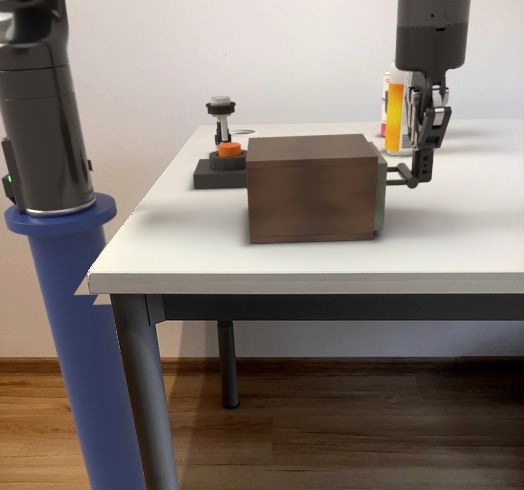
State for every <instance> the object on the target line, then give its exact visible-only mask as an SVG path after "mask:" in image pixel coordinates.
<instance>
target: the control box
mask: <svg viewBox="0 0 524 490" xmlns="http://www.w3.org/2000/svg"><path fill="white" fill-rule="evenodd" d="M246 156H247V149H242V148H241V155H240V156H234V157H221V156H219V154H218V151H215V150H214V151H212V152H210V153H209V154H208V158H199V159H198V161H197V164H196V166H195V168H194V172H193V173H192V176H193V177H192V178H193V189H194V190H201V189H202V190H203V189H205V190H206V189H229V188H230V189H231V188H232V189H233V188H247V176H246Z"/></svg>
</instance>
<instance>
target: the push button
mask: <svg viewBox="0 0 524 490" xmlns="http://www.w3.org/2000/svg"><path fill="white" fill-rule="evenodd" d="M209 99H210V101H209V102H207V103H205V107H206V110H207V114H208V115H211V117H212V118H216V129H215V130H216V134H214V144H215V147H214V149H215V150H214V152H215V151H218V145H219V144H222V143H228V142H233V141H232V134H231V133H230V129H229V128H228V127H229V126H228V120H227V118H228V117H230V116H232V114H233V113H236V109H235V108H236V107H235V106H237V103H236V102H235V101H232V100H231V96H228V95H219V96H212V97H210V98H209Z"/></svg>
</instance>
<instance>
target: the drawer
mask: <svg viewBox="0 0 524 490" xmlns="http://www.w3.org/2000/svg"><path fill="white" fill-rule="evenodd" d="M368 142H369V144H370V145H371V147H372V148H373V150H374V151H375V153H376V154H377V155H378V171H377V187H376V203H375V219H374V231H383V230H384V224H385V223H384V222H385V209H386V208H385V206H386V196H387V195H386V194H387V187H394V186H395V187H397V186H407V188H408V189H411V190H414V189H416V188H417V187H418V186H419V184H420V183H419V181H418V179H417V177H416V176H415V175H414V174H413V173H412V171H411V169H410V167H409V166H408V165H407V164H406V163H405V162H399V163H397V165H396V166H395V165H394V166H388V165H389V164H388V161H387V160H386V159H385V157H384V156H383V155H382V153H381V152H380V150H379V149H378V148H377V146H376V145H375V144H374V142H373V141H368ZM388 173H397V175H398V176H399V177H400V178H399V179H395V178H394V179H388Z"/></svg>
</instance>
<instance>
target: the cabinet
mask: <svg viewBox="0 0 524 490" xmlns="http://www.w3.org/2000/svg"><path fill="white" fill-rule="evenodd" d="M369 142H370V141H369V140H368V139H367V138H366V137H365V135H364V133H342V134H339V133H337V134H316V135H314V134H313V135H311V134H310V135H291V136H290V135H287V136H262V137H258V136H257V137H248V141H247V149H246V150H247V156H246V176H247V187H246V195H247V213H248V215H247V216H248V232H249V233H248V234H249V245H250V244H251V245H252V244H280V243H308V242H310V243H311V242H313V243H314V242H341V241H342V242H343V241H370V240H371V241H373V240H374V236H375V235H374V232H375V230H374V219H375V203H376V187H377V171H378V155H377V154H376V153H375V151H374V150H373V148H372V147H371V145H370V144H369Z"/></svg>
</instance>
